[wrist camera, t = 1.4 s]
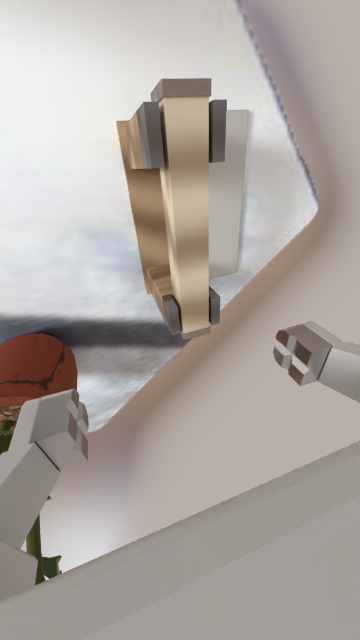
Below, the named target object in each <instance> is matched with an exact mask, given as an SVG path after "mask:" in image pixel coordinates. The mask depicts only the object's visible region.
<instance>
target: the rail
mask: <svg viewBox="0 0 360 640" xmlns="http://www.w3.org/2000/svg"><path fill="white" fill-rule="evenodd" d="M209 96H211V79H161V81H160V82H159V83H158V84H157V86H156V87H155V88H154V90H153V91H152V92H151V101H152V102H159V113H160V124H161V134H162V145H163V156H164V166H165V167H162V168H160V175H161V185H162V195H163V204H164V214H165V223H166V233H167V242H168V252H169V262H170V271H171V281H172V290H173V300H174V302H175V303H176V305H177V307H178V315H179V326H180V334H181V336H182V338H183V340H186V339H190V338H194V337H197V336H201V335H205V334H209V333H210V327H209Z"/></svg>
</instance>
